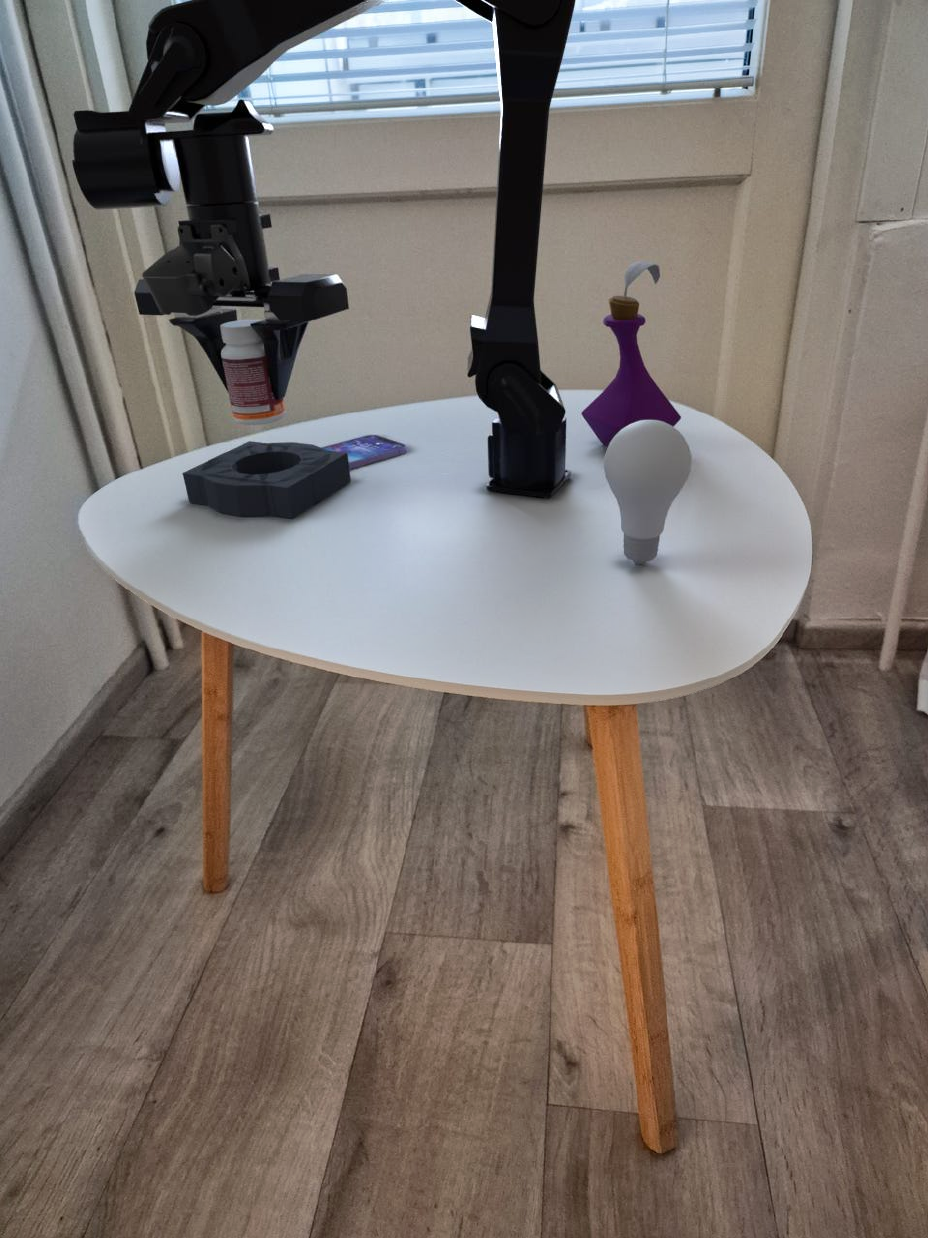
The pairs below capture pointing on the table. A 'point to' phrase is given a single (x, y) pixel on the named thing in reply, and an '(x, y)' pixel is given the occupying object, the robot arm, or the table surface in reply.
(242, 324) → the pill bottle
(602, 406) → the purple potion bottle
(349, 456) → the smartphone
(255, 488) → the dark grey flat block
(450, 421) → the table surface
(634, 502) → the lightbulb
